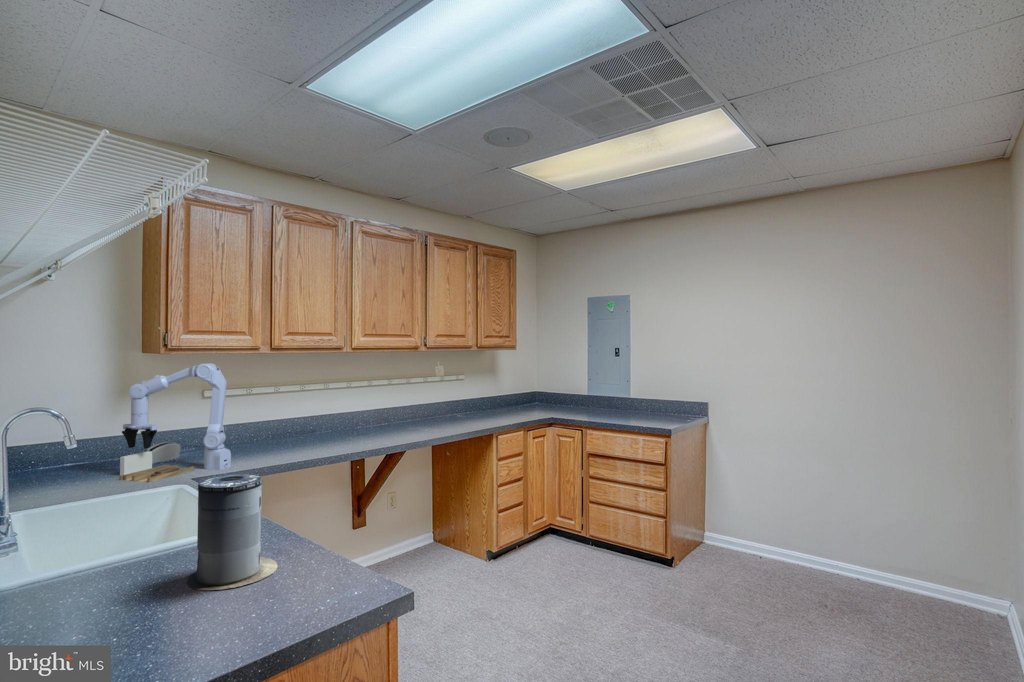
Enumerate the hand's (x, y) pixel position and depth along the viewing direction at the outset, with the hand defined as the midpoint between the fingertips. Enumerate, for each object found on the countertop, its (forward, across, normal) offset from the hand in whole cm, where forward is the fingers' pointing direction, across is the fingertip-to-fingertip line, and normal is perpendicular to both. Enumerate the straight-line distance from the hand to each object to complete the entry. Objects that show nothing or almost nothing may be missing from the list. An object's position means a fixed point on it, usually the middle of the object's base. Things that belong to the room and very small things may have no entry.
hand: (139, 447), depth 209 cm
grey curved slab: (+11, -11, +20) cm, 25 cm away
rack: (+10, +12, -3) cm, 16 cm away
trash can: (+11, +107, -71) cm, 129 cm away
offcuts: (+10, +16, -3) cm, 19 cm away
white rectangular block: (+10, 0, -1) cm, 10 cm away
